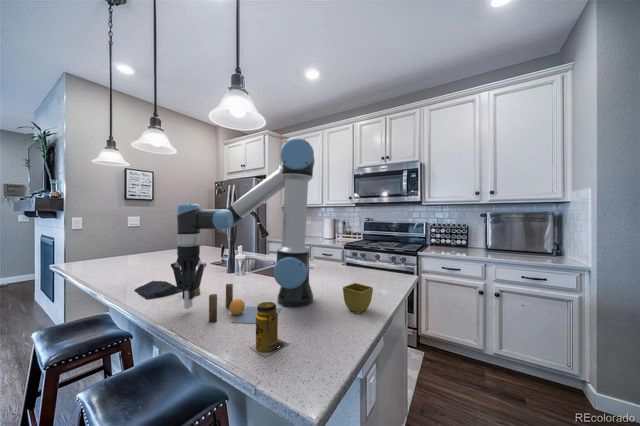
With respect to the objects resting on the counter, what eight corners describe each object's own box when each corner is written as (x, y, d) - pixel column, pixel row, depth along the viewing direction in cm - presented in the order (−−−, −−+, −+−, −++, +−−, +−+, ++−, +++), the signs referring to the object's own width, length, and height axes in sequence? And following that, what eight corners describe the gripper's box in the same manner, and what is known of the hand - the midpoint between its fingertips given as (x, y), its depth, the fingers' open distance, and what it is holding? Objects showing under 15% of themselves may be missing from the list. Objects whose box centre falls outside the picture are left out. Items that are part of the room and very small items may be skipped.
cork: (194, 297, 109) (194, 272, 109) (182, 296, 110) (182, 271, 110) (203, 293, 115) (203, 269, 115) (191, 292, 116) (192, 268, 116)
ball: (236, 313, 94) (249, 308, 93) (229, 319, 88) (243, 314, 88) (231, 299, 94) (243, 294, 94) (224, 305, 89) (238, 300, 88)
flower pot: (373, 310, 96) (373, 287, 96) (361, 317, 89) (361, 292, 89) (354, 304, 102) (355, 282, 102) (341, 310, 95) (342, 287, 95)
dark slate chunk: (166, 284, 130) (166, 275, 130) (185, 292, 116) (185, 282, 116) (131, 291, 118) (131, 281, 118) (148, 302, 104) (148, 291, 104)
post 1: (218, 319, 86) (218, 294, 86) (214, 322, 84) (214, 296, 84) (211, 319, 87) (211, 293, 87) (207, 322, 84) (207, 296, 84)
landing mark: (281, 308, 97) (281, 307, 97) (271, 324, 83) (271, 323, 83) (246, 307, 98) (246, 306, 98) (231, 322, 84) (231, 322, 84)
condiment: (249, 347, 69) (249, 305, 69) (273, 336, 75) (273, 297, 75) (265, 357, 64) (265, 312, 64) (289, 344, 71) (289, 302, 71)
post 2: (233, 306, 99) (233, 283, 99) (230, 308, 96) (231, 285, 96) (227, 305, 99) (227, 283, 99) (224, 308, 97) (224, 285, 97)
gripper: (210, 243, 96) (210, 304, 96) (178, 243, 97) (178, 303, 97) (199, 246, 88) (199, 312, 88) (165, 245, 89) (165, 310, 89)
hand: (188, 307), depth 93 cm, fingers closed
